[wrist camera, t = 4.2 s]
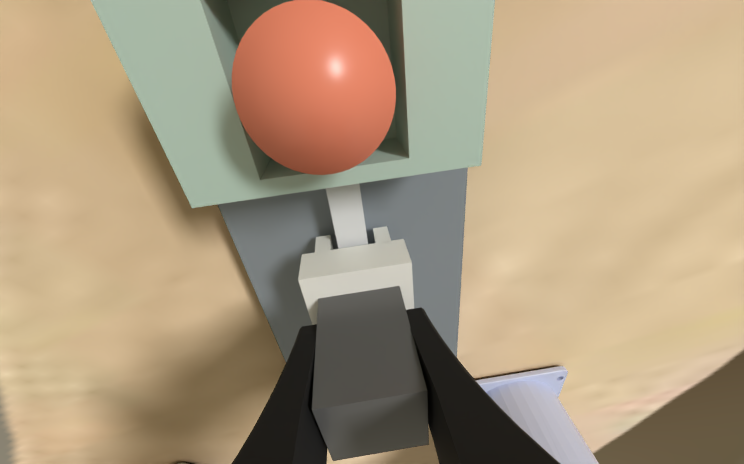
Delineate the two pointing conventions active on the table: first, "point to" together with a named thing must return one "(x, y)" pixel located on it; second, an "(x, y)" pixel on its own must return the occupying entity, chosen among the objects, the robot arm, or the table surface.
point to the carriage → (364, 347)
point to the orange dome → (313, 87)
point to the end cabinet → (222, 123)
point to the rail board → (355, 242)
